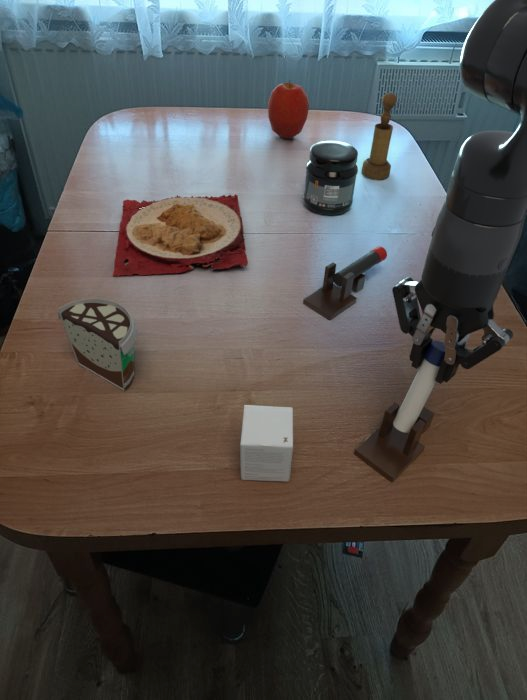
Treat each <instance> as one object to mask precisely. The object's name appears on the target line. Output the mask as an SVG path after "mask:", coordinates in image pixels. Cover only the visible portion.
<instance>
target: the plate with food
mask: <svg viewBox="0 0 527 700" xmlns="http://www.w3.org/2000/svg"><path fill="white" fill-rule="evenodd" d="M142 207H145V208H142ZM139 208H142V209H139ZM243 224H244V223H243V218H242V215H241V209H240V203H239V195H238V194H234V195H231V194H228V195H227V196H226V195H225V194H223V195H220V196H212V195H211V196H210V197H209V196H207V195H206V196H193V195H192V196H191V197H189V196H180V195H176V196H175V197H174V196H173V197H172V196H171V197H168V198H164V199H161V200H152V201H151V200H150V201H147V200H144V199H143V200H141V202H139V201H138V200H136V199H132V200H131V199H124V200H123V201H122V215H121V221H120V222H119V229H118V238H117V246H116V250H115V258H114V265H113V273H112V276H115V277H116V276H117V277H121V276H129V277H132V276H133V275H139V276H150V275H162V274H163V275H164V274H181V273H186V272H188V271H192V270H194V269H195V267H194V265H193V264H196V266H199V265H200V264H201V265H202V267H203V268H208V267H210V266H211V269H212V270H224V269H230V268H234V267H236V266H241V267H242V268H244V267H246V266H248V264H249V261H248V257H247V253H246V243H245V236H244V234H245V231H244V225H243ZM126 260H127V261H128V262H127V263H126V264H125V263H124V262H125V261H126Z"/></svg>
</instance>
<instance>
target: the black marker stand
mask: <svg viewBox="0 0 527 700" xmlns="http://www.w3.org/2000/svg"><path fill="white" fill-rule="evenodd" d="M336 271H337V263H335V262H331V263H329V264H327V265H326V266H325V267H324V275H323V282H322V286H321V287H320V288H318V289H317V290H315V291H314V292H312V293H310V294H309V295H307V296H306V297H304V298H303V300H302V304H303V305H305V306H306V307H308V308H309V309H311V310H313V311H314V312H316V313H317V314H319V315H321V316H322V317H323V318H325V319H327V320H329V321H332V320H333V319H334V318H335V317H337V316H339V315H340V314H342V313H343V312H344V311H346V310H347V309H349V308H350V307H352V306H354V305H355V304H356V303H357V300H358V297H357V296H355V295H353V294H352V292H353V293H355V294H358V293H359V292H360V291H361V290H363V289H364V286H365V285H364V284H365V281H366V274H364V273H362V274H360V275H359V276H357V277H356V278H354V275H355V274H353V273H351V272H350V273H349V274H347V275H346V276H344V277H343V283H342V287H339V286H337V285H336V284H335V283H334V281H333V275H334V274H336Z"/></svg>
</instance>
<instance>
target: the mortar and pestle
mask: <svg viewBox="0 0 527 700" xmlns="http://www.w3.org/2000/svg"><path fill="white" fill-rule="evenodd" d="M396 103H397V96H396V94H394V93H393V92H387V93H385V94H384V95H383V96H382V98H381V104H382V108H383V112H382V113H381V114H380V123H376V124H375V125H374V129H373V136H372V141H371V148H370V152H369V157H368V158H367V159H365V160H364V161H363V162H362V167H361V175H362V176H363V177H365V178H366V179H369V180H374V181H382V180H383V181H384V180H386V179H388V178H389V177H390V174H391V169H392V165H391V163H390V162H389V160H388V154H389V149H390V145H391V139H392V134H393V129H394V125H392V124H389V123H390V121H391V118H392V114H391V111H392V109H393V108H394V107H395V105H396Z"/></svg>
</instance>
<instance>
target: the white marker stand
mask: <svg viewBox="0 0 527 700" xmlns="http://www.w3.org/2000/svg"><path fill="white" fill-rule="evenodd" d="M400 407H401V405H400V404H399V403H397V402H393V403H392V404H390V406H389V407H387V408H386V409H385V411H384V413H383V417H382V421H381V424H380V425H379V426H378V427H377V428H376V429H375V430H374V431H372V433H370V435H369V436H368V437H366V438H365V439H364V440H363V441H362V442H361V443H360V444H359V445H358V446H357V447H356V448H355V449H354V452H353V454H354V455H355V456H356V457H357V458H359V459H360V460H361V461H363V462H364V463H365V464H367V465H368V466H370V468H372V469H373V470H375V472H377V473H379V474H380V475H381V476H383V478H385V479H386V480H388V482H390V483H394V482H395V481H396V480H397V479H398V478H399V477H400V476H401V475H402V474H403V473H404V472H405V471H406V470H407V468H408V467H409V466H411V464H412V463H413V462H414V461H415V460H416V459H417V458H418V457H419V456H420V455H421V454H422V453H423V452H424V450H425V448H426V446H425V445H424V444H422V443H421V442H420V439H421V437H422V435H423V434H424V433H425V432H426V431H427V430H428V429H429V428H430V427H431V425H432V421H433V419H434V416H435V412H433V411H431V410H430V409H429V408H427V407H425V406H424V407H423V409H422V411H421V412H420V414H419V416H418V418H417V420H416V422H415V424H414V426H413V427H412V428H411V430H410V432H409V433H404V432H401V431H399V430H398V429H396V428H395V427H394V425H393V421H394V419H395V417H396V415H397V413H398V411H399V409H400Z"/></svg>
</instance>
